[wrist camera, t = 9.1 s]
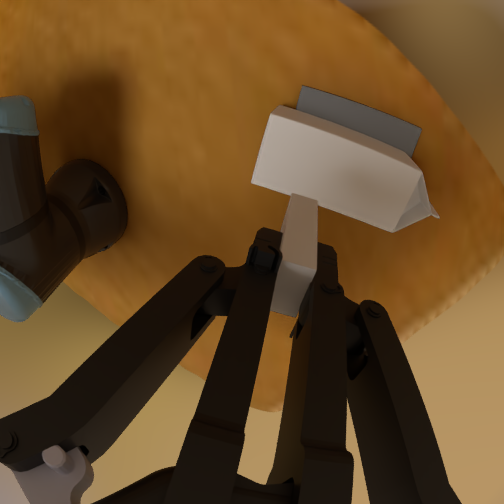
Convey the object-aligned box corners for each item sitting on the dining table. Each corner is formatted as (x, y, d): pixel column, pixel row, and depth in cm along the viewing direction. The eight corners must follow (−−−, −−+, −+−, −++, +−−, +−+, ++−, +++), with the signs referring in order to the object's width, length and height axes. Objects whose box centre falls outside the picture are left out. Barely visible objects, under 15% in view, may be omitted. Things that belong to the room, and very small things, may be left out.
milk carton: (268, 112, 26) (455, 188, 25) (278, 103, 32) (433, 165, 31) (248, 183, 30) (423, 246, 29) (261, 161, 36) (408, 215, 35)
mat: (276, 181, 37) (275, 183, 37) (302, 85, 31) (302, 85, 30) (384, 215, 37) (385, 218, 36) (419, 127, 30) (421, 129, 29)
